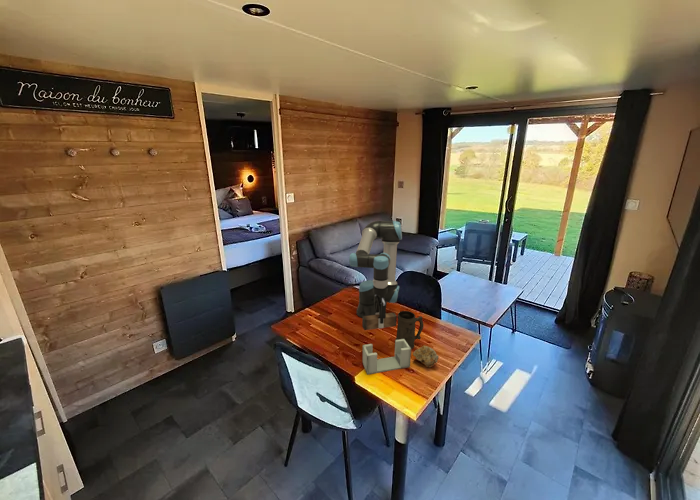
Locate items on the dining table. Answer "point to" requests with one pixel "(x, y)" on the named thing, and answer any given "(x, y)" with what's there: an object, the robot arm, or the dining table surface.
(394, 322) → the rail
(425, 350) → the rock
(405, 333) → the beer stein
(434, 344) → the dining table surface
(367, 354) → the post bracket
